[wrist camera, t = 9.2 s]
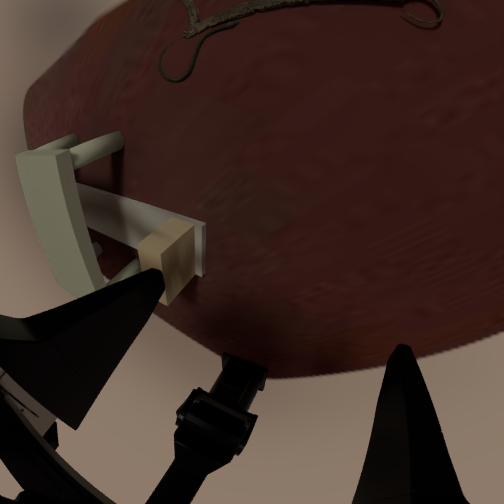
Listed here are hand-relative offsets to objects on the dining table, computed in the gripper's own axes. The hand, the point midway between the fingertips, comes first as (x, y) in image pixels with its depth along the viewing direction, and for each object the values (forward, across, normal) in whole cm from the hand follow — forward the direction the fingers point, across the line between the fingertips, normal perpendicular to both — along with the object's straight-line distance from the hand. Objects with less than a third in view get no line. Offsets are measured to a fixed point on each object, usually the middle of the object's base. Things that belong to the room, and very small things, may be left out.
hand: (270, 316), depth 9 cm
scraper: (+13, +21, +7) cm, 25 cm away
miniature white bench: (+12, +25, +6) cm, 28 cm away
